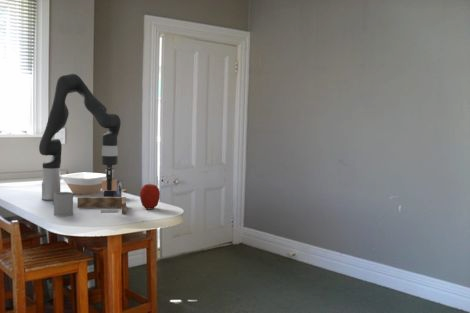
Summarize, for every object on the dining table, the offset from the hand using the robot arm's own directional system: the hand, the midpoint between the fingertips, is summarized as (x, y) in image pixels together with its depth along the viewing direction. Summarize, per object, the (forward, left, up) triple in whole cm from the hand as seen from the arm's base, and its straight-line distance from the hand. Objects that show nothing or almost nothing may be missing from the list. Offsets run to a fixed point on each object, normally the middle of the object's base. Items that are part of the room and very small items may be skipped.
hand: (109, 189), depth 251 cm
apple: (+20, +6, -11) cm, 24 cm away
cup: (-21, -6, -11) cm, 24 cm away
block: (0, 0, 0) cm, 0 cm away
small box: (+1, +38, -11) cm, 40 cm away
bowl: (-15, +59, -11) cm, 62 cm away
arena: (-4, +3, -11) cm, 12 cm away
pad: (0, 0, -11) cm, 11 cm away
